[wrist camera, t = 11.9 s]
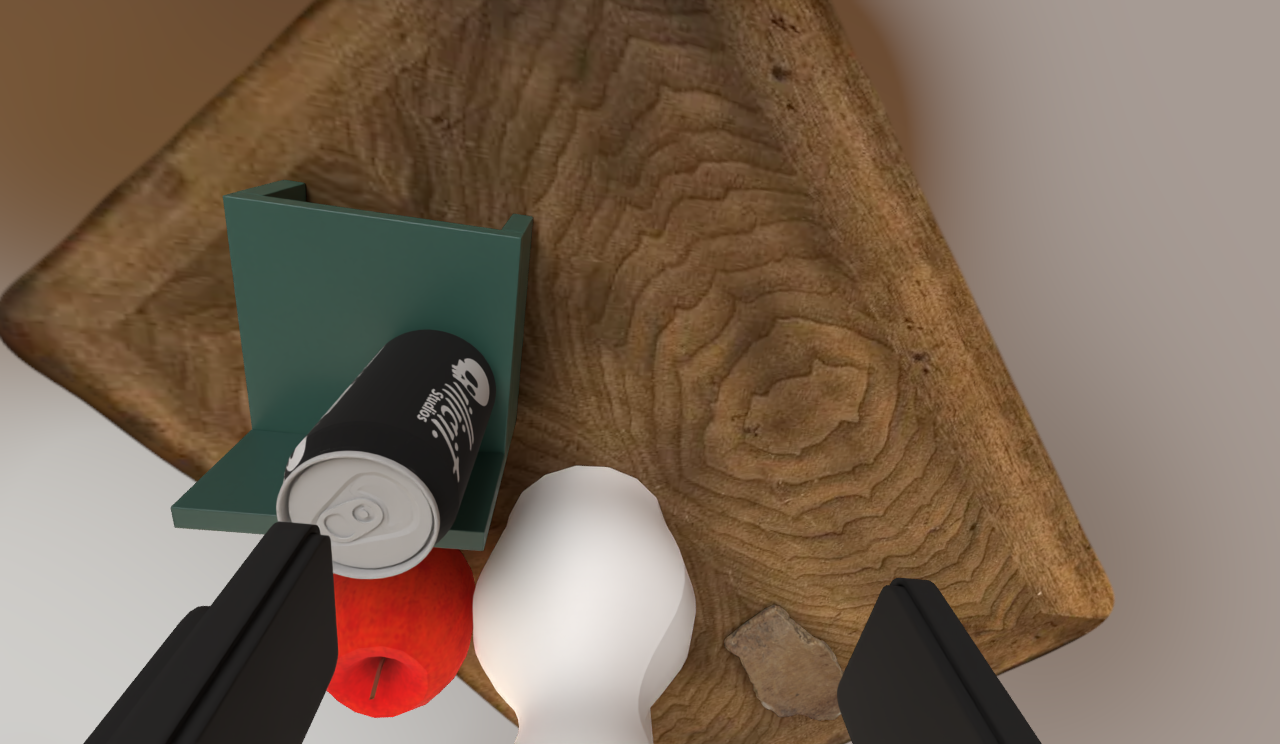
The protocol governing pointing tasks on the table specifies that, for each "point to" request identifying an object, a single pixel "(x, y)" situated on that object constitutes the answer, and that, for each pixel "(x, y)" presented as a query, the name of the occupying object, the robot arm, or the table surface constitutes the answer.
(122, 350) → the table surface
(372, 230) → the green l-shaped bookend
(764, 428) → the table surface
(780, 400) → the table surface
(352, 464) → the beverage can
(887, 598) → the robot arm
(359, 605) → the apple
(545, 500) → the vase
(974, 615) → the table surface
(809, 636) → the pottery shard
